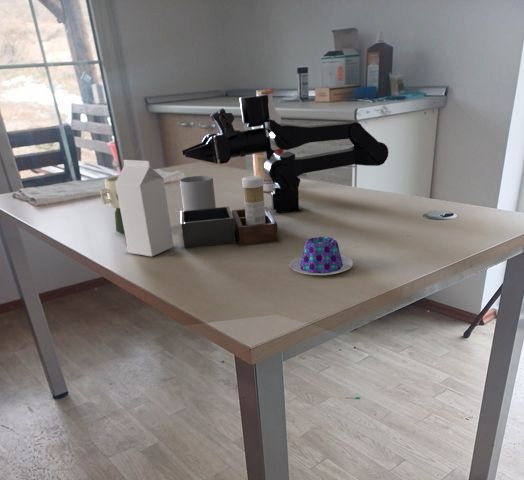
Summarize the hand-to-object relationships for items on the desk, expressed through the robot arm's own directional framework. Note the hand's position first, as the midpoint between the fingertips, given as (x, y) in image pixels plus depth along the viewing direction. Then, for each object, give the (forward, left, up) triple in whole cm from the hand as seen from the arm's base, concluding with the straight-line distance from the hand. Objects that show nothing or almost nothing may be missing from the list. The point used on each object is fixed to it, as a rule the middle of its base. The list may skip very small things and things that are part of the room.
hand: (183, 153), depth 127 cm
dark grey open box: (-3, +17, -17) cm, 24 cm away
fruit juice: (-25, -30, -17) cm, 42 cm away
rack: (-14, +17, -17) cm, 28 cm away
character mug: (+16, +5, -17) cm, 24 cm away
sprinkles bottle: (-14, +21, -17) cm, 30 cm away
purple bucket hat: (-23, +44, -17) cm, 53 cm away
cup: (-2, -2, -17) cm, 17 cm away
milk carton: (+10, +22, -17) cm, 30 cm away
